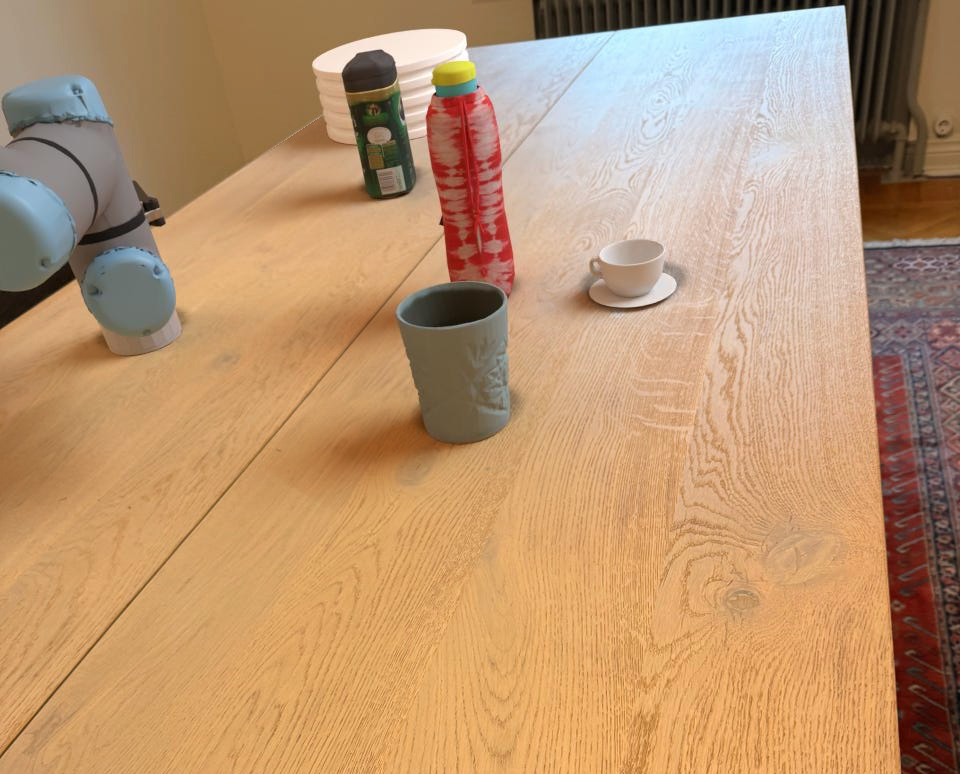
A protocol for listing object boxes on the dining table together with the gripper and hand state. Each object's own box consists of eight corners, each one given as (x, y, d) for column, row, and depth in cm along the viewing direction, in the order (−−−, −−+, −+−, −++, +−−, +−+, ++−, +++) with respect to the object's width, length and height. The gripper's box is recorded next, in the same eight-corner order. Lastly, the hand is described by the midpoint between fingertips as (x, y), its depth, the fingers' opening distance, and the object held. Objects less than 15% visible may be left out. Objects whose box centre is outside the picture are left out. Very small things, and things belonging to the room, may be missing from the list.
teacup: (686, 275, 110) (687, 235, 106) (661, 314, 103) (661, 272, 100) (605, 272, 114) (603, 232, 110) (576, 308, 107) (573, 268, 104)
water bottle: (448, 281, 118) (410, 54, 101) (511, 270, 118) (483, 41, 101) (454, 321, 109) (414, 80, 92) (522, 310, 109) (494, 66, 92)
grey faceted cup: (98, 342, 120) (79, 301, 116) (162, 314, 123) (146, 273, 120) (128, 362, 114) (109, 319, 110) (195, 332, 118) (179, 290, 114)
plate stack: (302, 148, 171) (285, 77, 163) (363, 101, 189) (350, 35, 182) (445, 141, 162) (433, 65, 154) (494, 92, 180) (486, 23, 173)
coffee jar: (371, 182, 151) (343, 50, 139) (419, 175, 150) (395, 42, 138) (363, 203, 144) (334, 66, 132) (414, 196, 143) (389, 57, 131)
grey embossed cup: (399, 425, 94) (374, 310, 86) (476, 383, 98) (458, 270, 90) (463, 459, 88) (441, 339, 80) (542, 413, 92) (529, 294, 84)
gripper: (35, 313, 91) (17, 245, 107) (207, 261, 95) (164, 202, 111) (-3, 235, 86) (-16, 176, 102) (181, 183, 90) (140, 134, 106)
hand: (78, 190), depth 107 cm, fingers closed on sprinkles bottle, 4 cm apart
